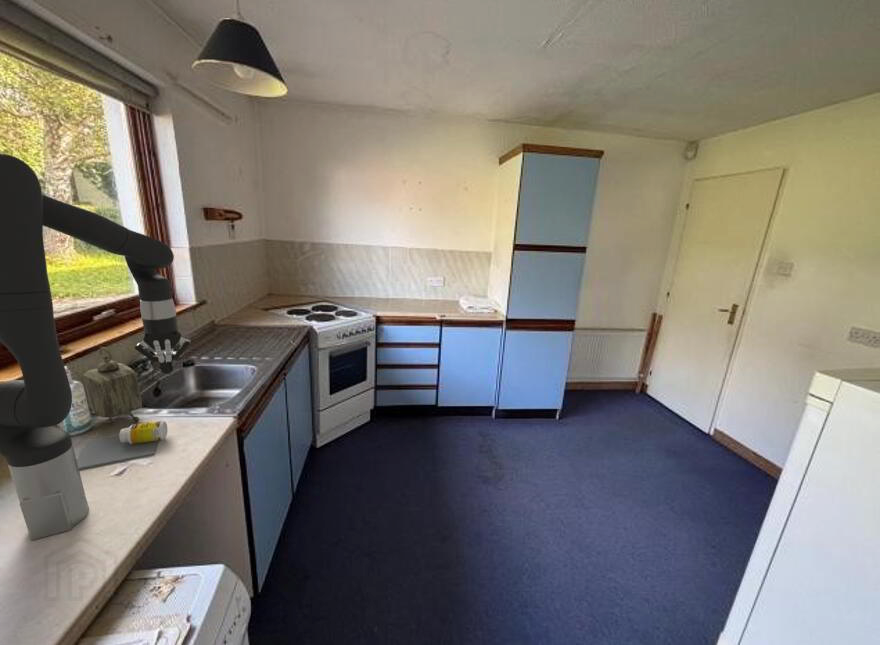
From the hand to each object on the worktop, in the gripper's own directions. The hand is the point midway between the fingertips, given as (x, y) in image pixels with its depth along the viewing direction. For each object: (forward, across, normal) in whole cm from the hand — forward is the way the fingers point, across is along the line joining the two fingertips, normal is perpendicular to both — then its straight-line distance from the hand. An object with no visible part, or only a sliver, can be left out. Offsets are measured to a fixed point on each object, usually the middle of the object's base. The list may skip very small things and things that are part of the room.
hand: (168, 372), depth 104 cm
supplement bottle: (+18, -3, 0) cm, 18 cm away
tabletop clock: (+22, -18, +18) cm, 34 cm away
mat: (+22, -14, 0) cm, 26 cm away
